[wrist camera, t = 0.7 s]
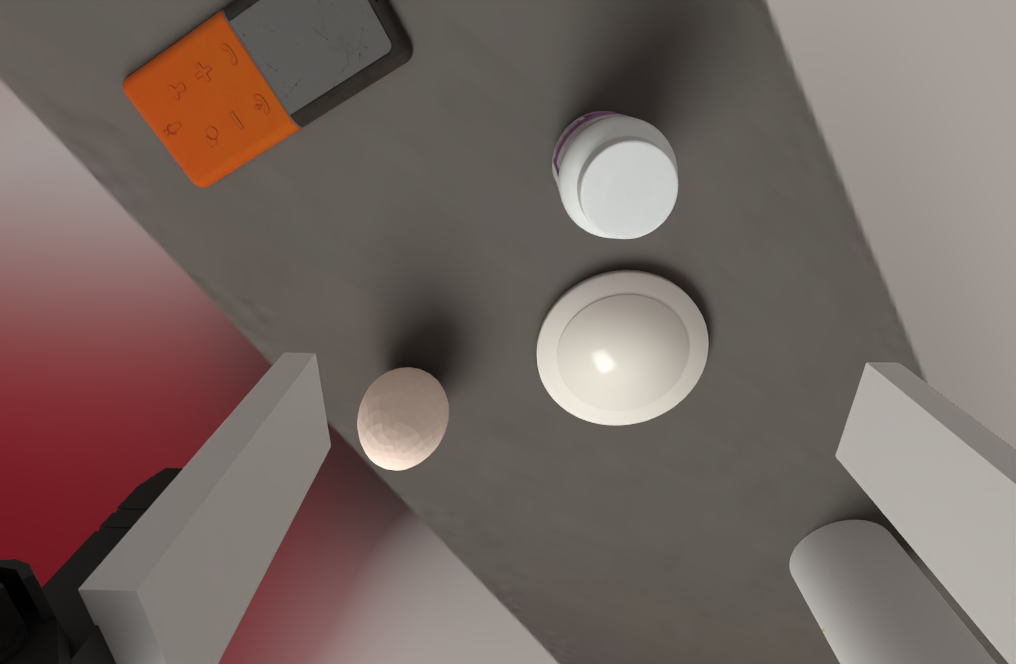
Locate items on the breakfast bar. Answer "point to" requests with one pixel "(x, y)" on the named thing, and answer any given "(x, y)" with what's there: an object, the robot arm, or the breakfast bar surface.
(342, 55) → the phone
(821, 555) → the white upright cylinder
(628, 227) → the pill bottle
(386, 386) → the egg
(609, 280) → the saucer
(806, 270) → the breakfast bar surface
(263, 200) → the breakfast bar surface
